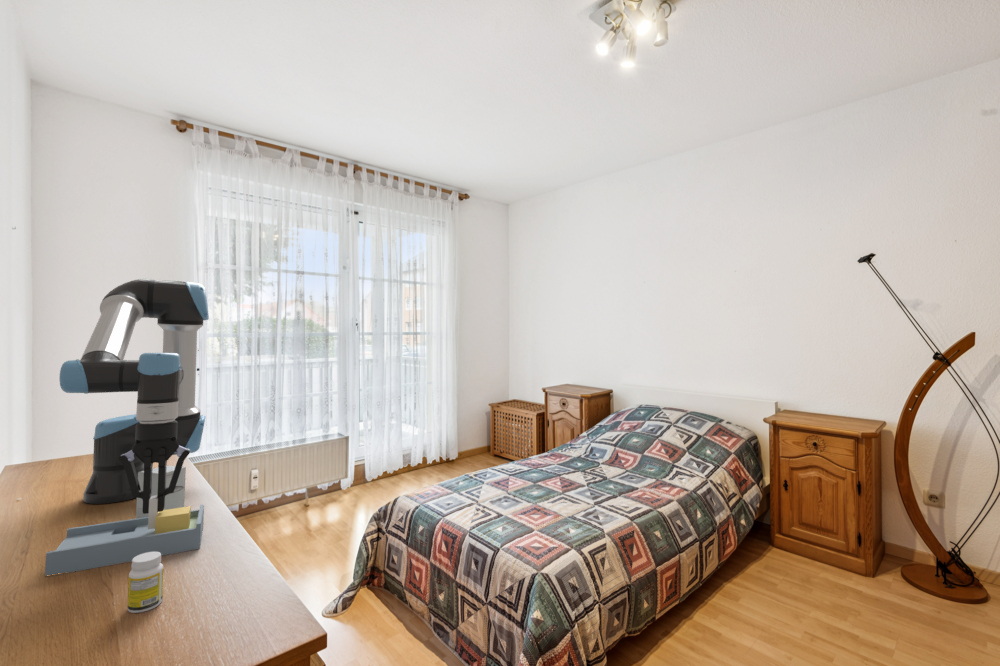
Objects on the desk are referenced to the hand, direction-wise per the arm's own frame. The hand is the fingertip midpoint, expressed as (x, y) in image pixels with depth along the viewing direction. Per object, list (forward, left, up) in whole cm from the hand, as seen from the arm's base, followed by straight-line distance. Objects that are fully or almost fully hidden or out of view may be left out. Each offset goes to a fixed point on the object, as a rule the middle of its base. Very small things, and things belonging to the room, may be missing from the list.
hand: (153, 526), depth 100 cm
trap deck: (0, -4, -4) cm, 6 cm away
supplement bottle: (+28, +2, -5) cm, 28 cm away
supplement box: (-19, -1, -5) cm, 20 cm away
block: (0, +4, -1) cm, 4 cm away
